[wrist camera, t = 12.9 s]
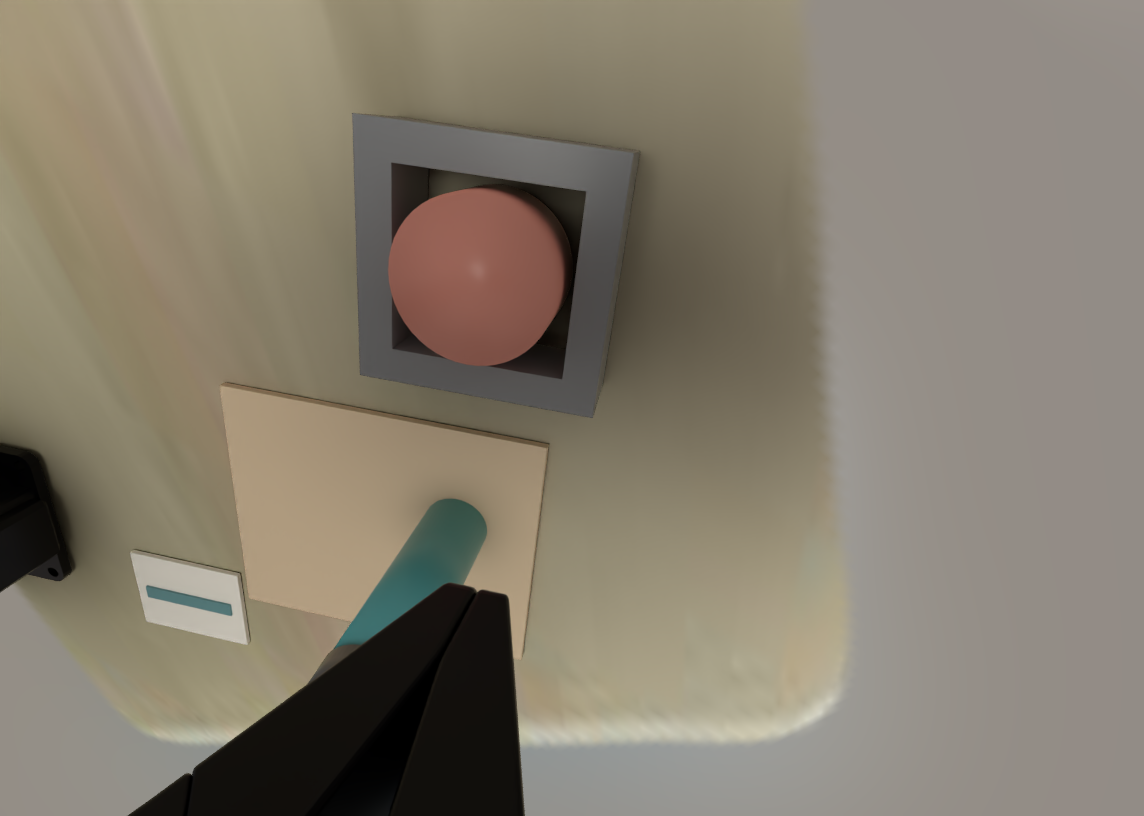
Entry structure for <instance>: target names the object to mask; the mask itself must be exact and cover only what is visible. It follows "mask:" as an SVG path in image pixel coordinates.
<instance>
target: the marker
mask: <svg viewBox="0 0 1144 816" xmlns="http://www.w3.org/2000/svg"><path fill="white" fill-rule="evenodd" d="M486 536H487V526H486V522H485V520H484V518H483V516H482V515H481V514H480V512H479V511H478V510H477V509H476V508H474V507H473V506H472V505H470V504H469V503H467V502H464V501H462V500H458V499H442V500H439V501H437V502H435V503H434V504H432V505H431V506H430V507H429V509H428V510H427V512H426V513H425V515H424V516H423V518H422V519H421V520H420V522H419V523H418V525H417V526H416V528H415V529H414V531H413V532H412V534H411V535H410V537H409V538H408V540H407V541H406V543H405V544H404V546H403V547H402V549H401V550H400V552H399V553H398V555H397V556H396V558H395V559H394V560H393V562H392V563H391V565H390V566H389V568H388V569H387V571H386V572H385V574H384V575H383V577H382V578H381V580H380V581H379V583H378V584H377V586H376V587H375V589H374V590H373V592H372V593H371V595H370V596H369V597H368V599H367V600H366V602H365V603H364V605H363V606H362V608H361V609H360V611H359V612H358V614H357V615H356V617H355V618H354V620H353V621H352V623H351V624H350V626H349V627H348V629H347V630H346V632H345V633H344V635H343V636H342V637H341V639H340V640H339V642H338V643H337V645H336V646H335V648H334V649H333V650H332V651H331V652H330V653H329V654H328V655H327V656H326V658H325V659H324V661H323V662H322V664H321V665H320V667H319V668H318V670H317V671H316V672H315V674H314V675H313V677H312V678H311V680H310V681H309V683H310V682H311V681H313V680H314V679H315V678H317V677H318V676H319V675H321V674H322V673H324V672H325V671H326V670H328V669H329V668H330V667H332V666H333V665H334V664H336V663H337V662H339V661H340V660H341V659H343V658H344V657H345V656H347V655H348V654H349V653H351V652H352V651H353V650H355V649H356V648H358V647H359V646H360V645H362V644H363V643H364V642H366V641H367V640H368V639H370V638H371V637H373V636H374V635H375V634H377V633H378V632H379V631H381V630H382V629H383V628H385V627H386V626H387V625H389V624H390V623H392V622H393V621H394V620H396V619H397V618H398V617H400V616H401V615H402V614H404V613H405V612H407V611H408V610H409V609H411V608H412V607H413V606H415V605H416V604H417V603H419V602H420V601H421V600H423V599H424V598H426V597H427V596H428V595H430V594H431V593H432V592H434V591H435V590H436V589H438V588H439V587H441V586H442V585H443V584H445V583H449V582H452V583H456V584H461V585H464V583H465V581H466V578H467V576H468V574H469V572H470V570H471V568H472V566H473V564H474V562H475V560H476V558H477V556H478V554H479V551H480V549H481V547H482V545H483V543H484V541H485V539H486ZM309 683H308V684H309Z"/></svg>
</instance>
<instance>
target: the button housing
mask: <svg viewBox="0 0 1144 816" xmlns="http://www.w3.org/2000/svg"><path fill="white" fill-rule="evenodd" d="M352 117H353V151H354V185H355V219H356V253H357V288H358V322H359V356H360V375H363V376H369V377H374V378H379V379H385V380H390V381H395V382H401V383H406V384H412V385H417V386H422V387H428V388H433V389H439V390H444V391H449V392H455V393H460V394H466V395H471V396H476V397H482V398H487V399H493V400H498V401H503V402H509V403H514V404H520V405H525V406H530V407H536V408H541V409H546V410H552V411H557V412H563V413H568V414H573V415H579V416H584V417H590V418H593V415H594V412H595V409H596V405H597V402H598V399H599V396H600V392H601V389H602V386H603V380H604V374H605V368H606V362H607V355H608V349H609V343H610V337H611V330H612V324H613V318H614V312H615V305H616V299H617V293H618V287H619V280H620V274H621V268H622V262H623V255H624V249H625V243H626V237H627V230H628V224H629V218H630V212H631V205H632V199H633V193H634V187H635V180H636V174H637V168H638V162H639V155H640V151H637V150H630V149H622V148H615V147H608V146H601V145H594V144H587V143H580V142H573V141H566V140H559V139H552V138H545V137H538V136H530V135H523V134H516V133H509V132H502V131H495V130H488V129H481V128H474V127H467V126H460V125H453V124H446V123H438V122H431V121H424V120H417V119H410V118H403V117H396V116H384V115H371V114H358V113H352ZM429 168H432V169H439V170H446V171H452V172H459V173H466V174H473V175H479V176H486V177H493V178H499V179H506V180H513V181H519V182H526V183H533V184H540V185H546V186H553V187H560V188H566V189H573V190H580V191H586V199H585V206H584V214H583V222H582V230H581V238H580V246H579V253H578V261H577V269H576V277H575V285H574V292H573V300H572V308H571V316H570V324H569V332H568V339H567V347H566V349H562V348H556V347H550V346H545V345H539V344H534V345H533V346H532V347H531V348H530V349H529V350H527V351H526V352H525V353H523V354H522V355H520V356H518V357H517V358H514V359H512V360H510V361H508V362H504V363H501V364H497V365H490V366H474V365H466V364H462V363H458V362H455V361H452V360H449V359H447V358H445V357H443V356H441V355H439V354H437V353H435V352H434V351H432V350H431V349H429V348H428V347H427V346H426V345H424V344H423V343H422V342H421V341H420V340H419V339H418V338H417V337H416V336H415V335H414V334H413V333H412V332H411V331H410V329H409V328H408V327H407V325H406V324H405V323H404V321H403V319H402V317H401V316H400V314H399V312H398V310H397V308H396V305H395V303H394V300H393V297H392V294H391V289H390V284H389V275H388V264H389V255H390V250H391V246H392V243H393V240H394V237H395V235H396V233H397V231H398V229H399V227H400V226H401V224H402V223H403V221H404V220H405V219H406V217H407V216H408V215H409V214H410V213H411V212H412V211H413V210H414V209H416V208H417V207H418V206H419V205H421V204H422V203H424V202H426V201H427V200H428V172H429Z"/></svg>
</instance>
